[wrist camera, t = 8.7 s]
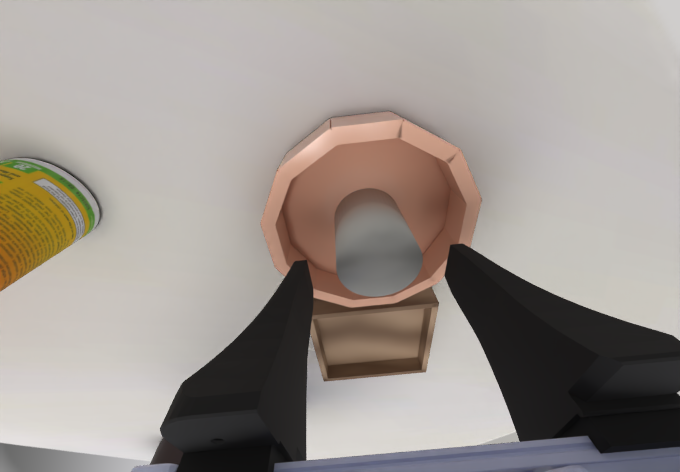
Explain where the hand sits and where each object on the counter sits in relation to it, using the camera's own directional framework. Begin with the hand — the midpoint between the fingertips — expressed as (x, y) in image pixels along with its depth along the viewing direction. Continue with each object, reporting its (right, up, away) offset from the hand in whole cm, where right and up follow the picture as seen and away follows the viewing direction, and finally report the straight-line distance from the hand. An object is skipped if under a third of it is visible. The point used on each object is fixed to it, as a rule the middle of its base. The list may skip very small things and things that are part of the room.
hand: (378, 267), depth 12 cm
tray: (+1, -8, +12) cm, 15 cm away
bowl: (0, +3, +5) cm, 6 cm away
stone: (0, +3, +4) cm, 5 cm away
